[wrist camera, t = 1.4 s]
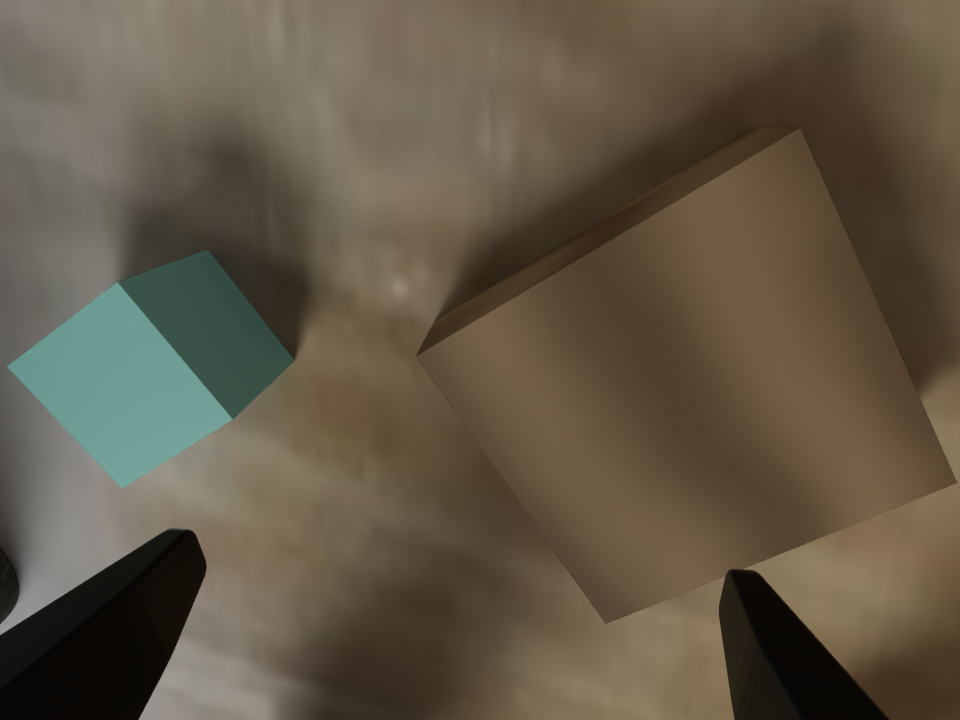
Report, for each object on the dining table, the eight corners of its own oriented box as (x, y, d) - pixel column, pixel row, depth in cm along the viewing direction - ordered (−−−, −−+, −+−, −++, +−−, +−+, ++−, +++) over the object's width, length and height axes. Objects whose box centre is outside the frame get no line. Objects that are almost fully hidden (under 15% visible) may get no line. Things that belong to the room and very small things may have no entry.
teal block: (202, 419, 24) (122, 488, 19) (115, 317, 23) (6, 366, 18) (295, 359, 23) (232, 419, 18) (208, 248, 21) (117, 282, 17)
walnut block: (595, 550, 25) (605, 623, 21) (436, 317, 22) (415, 356, 18) (885, 422, 22) (957, 482, 18) (747, 128, 19) (800, 127, 15)
